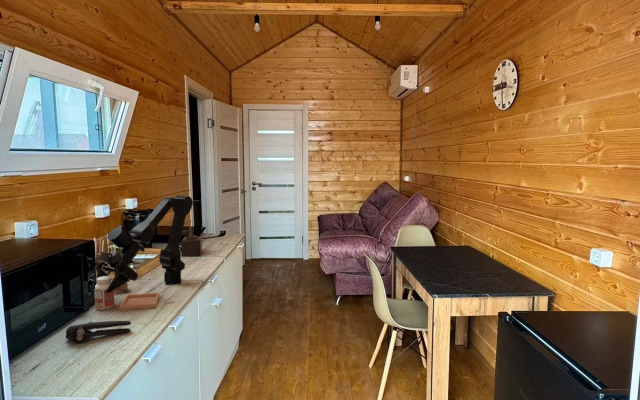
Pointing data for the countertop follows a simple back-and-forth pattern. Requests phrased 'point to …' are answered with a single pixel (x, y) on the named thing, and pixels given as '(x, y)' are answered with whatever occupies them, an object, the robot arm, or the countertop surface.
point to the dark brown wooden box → (191, 245)
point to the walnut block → (121, 289)
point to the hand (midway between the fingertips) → (100, 290)
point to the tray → (139, 301)
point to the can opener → (83, 331)
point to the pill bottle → (103, 293)
